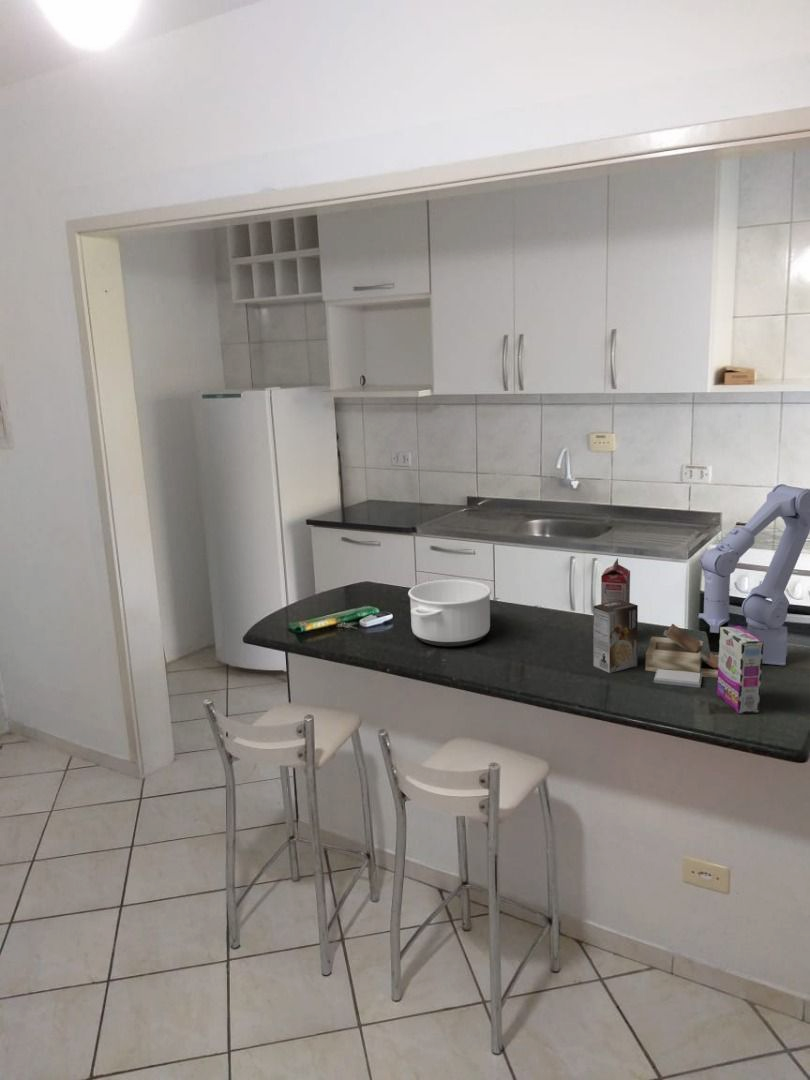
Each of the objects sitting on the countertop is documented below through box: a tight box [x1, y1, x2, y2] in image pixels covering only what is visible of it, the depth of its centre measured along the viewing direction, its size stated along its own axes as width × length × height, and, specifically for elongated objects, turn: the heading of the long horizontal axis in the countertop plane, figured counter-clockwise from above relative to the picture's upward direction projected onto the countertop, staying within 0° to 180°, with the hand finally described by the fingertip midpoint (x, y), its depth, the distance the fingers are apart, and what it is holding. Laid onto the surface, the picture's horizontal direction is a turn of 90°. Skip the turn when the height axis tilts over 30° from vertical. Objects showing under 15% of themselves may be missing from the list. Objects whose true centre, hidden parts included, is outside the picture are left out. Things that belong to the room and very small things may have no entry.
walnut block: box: [667, 623, 700, 653], centre depth 210 cm, size 8×4×2 cm
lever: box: [662, 629, 719, 670], centre depth 210 cm, size 15×6×2 cm
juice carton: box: [600, 557, 631, 604], centre depth 229 cm, size 7×7×22 cm
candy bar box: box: [716, 625, 764, 715], centre depth 186 cm, size 11×5×16 cm, turn 5°
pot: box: [407, 579, 492, 647], centre depth 238 cm, size 33×23×14 cm
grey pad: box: [653, 669, 703, 689], centre depth 202 cm, size 10×6×1 cm, turn 68°
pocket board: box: [644, 636, 719, 679], centre depth 211 cm, size 17×13×4 cm
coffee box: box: [592, 600, 639, 674], centre depth 211 cm, size 9×6×16 cm
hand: (714, 651), depth 208 cm, fingers closed
